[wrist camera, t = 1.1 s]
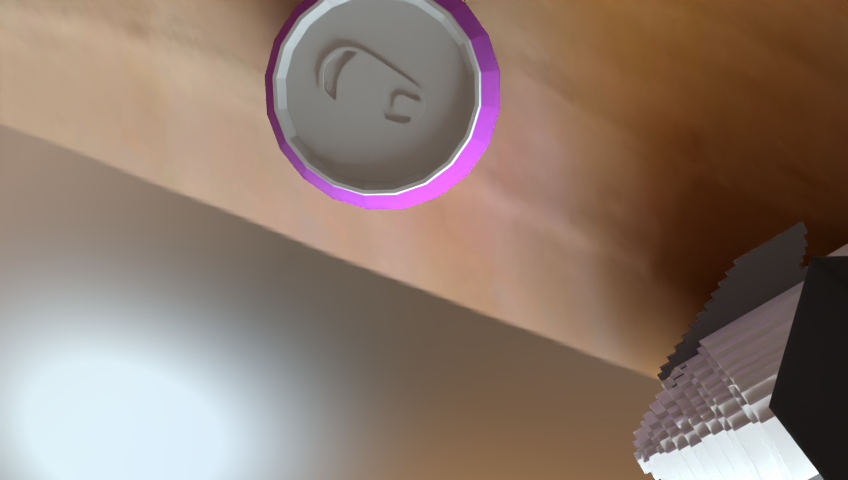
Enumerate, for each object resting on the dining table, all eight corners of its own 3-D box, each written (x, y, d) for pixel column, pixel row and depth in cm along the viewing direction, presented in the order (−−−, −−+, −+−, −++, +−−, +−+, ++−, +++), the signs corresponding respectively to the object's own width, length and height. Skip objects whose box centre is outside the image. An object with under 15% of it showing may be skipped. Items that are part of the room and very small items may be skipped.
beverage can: (516, 55, 34) (552, 27, 22) (440, 209, 35) (436, 262, 23) (360, -23, 33) (310, -93, 22) (289, 136, 35) (206, 151, 23)
